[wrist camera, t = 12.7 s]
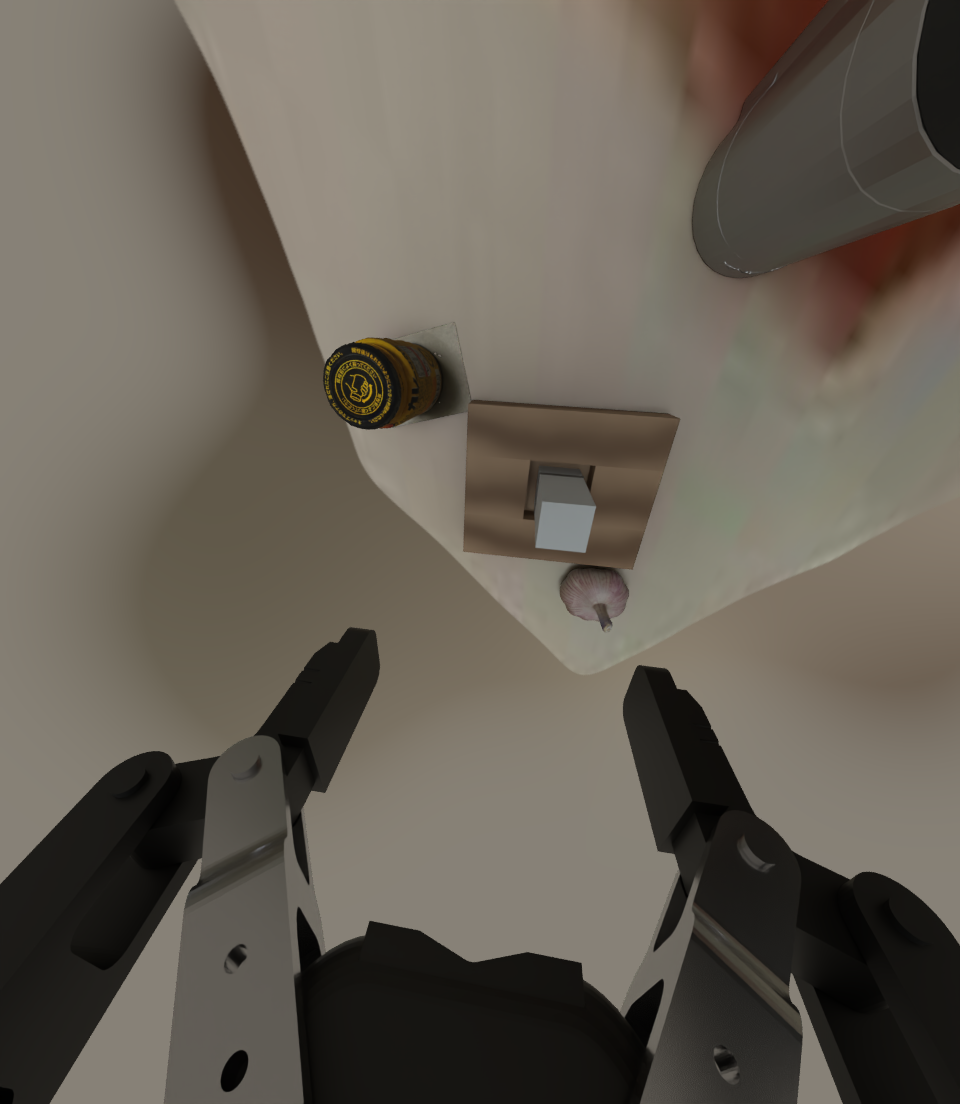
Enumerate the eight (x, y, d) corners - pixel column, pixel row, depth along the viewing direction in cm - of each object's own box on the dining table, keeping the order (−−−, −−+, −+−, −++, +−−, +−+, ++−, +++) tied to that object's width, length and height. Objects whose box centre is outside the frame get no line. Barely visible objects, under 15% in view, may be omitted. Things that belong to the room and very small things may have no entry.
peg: (538, 465, 35) (541, 500, 26) (580, 468, 35) (596, 505, 26) (533, 503, 37) (534, 548, 28) (572, 506, 37) (585, 553, 28)
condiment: (367, 346, 32) (290, 342, 22) (454, 322, 31) (416, 304, 20) (393, 427, 36) (337, 456, 25) (473, 409, 34) (448, 433, 23)
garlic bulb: (637, 585, 41) (659, 631, 34) (588, 618, 44) (599, 667, 37) (595, 545, 39) (609, 585, 32) (546, 582, 42) (550, 626, 36)
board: (472, 399, 33) (468, 403, 31) (668, 413, 32) (680, 418, 29) (467, 539, 41) (463, 551, 38) (625, 555, 39) (632, 569, 37)
